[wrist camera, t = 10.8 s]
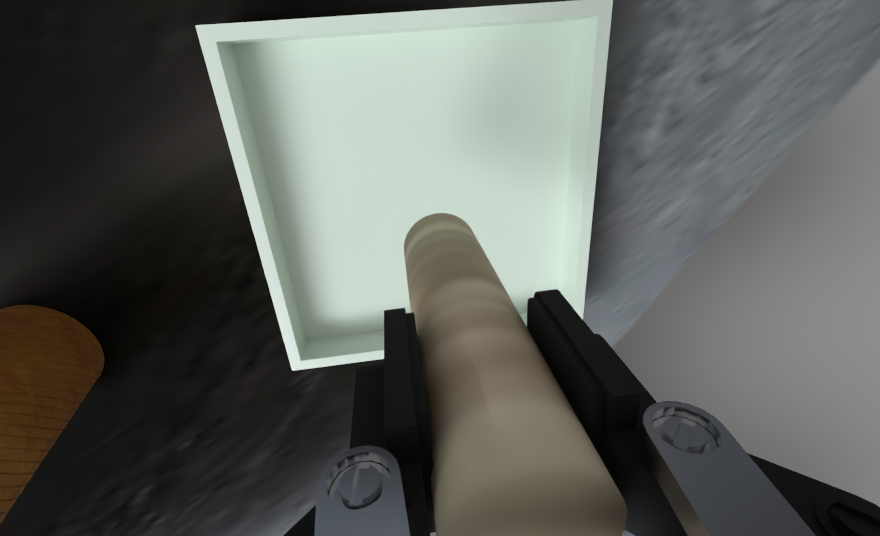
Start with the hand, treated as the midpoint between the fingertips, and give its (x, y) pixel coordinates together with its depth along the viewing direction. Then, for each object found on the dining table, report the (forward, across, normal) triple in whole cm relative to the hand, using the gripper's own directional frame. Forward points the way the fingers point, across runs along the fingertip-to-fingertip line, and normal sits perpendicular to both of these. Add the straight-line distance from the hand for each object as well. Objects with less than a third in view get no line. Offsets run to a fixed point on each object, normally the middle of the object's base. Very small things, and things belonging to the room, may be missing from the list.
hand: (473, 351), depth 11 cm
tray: (+14, 0, 0) cm, 14 cm away
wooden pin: (+7, 0, 0) cm, 7 cm away
